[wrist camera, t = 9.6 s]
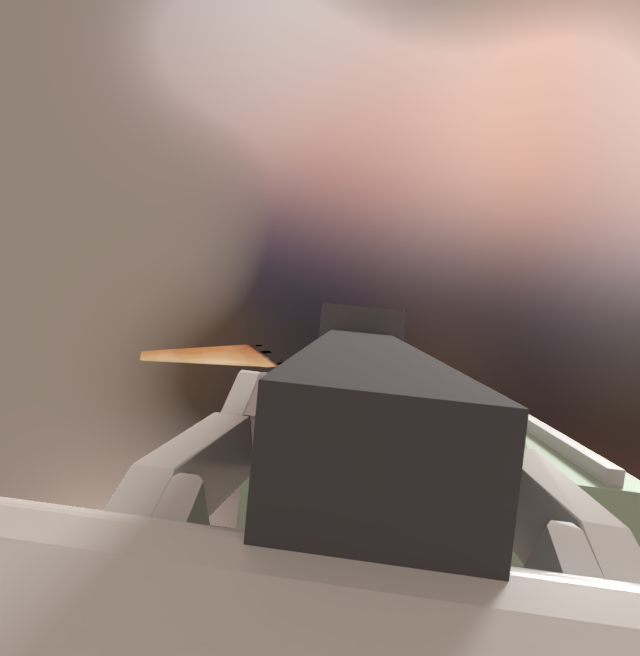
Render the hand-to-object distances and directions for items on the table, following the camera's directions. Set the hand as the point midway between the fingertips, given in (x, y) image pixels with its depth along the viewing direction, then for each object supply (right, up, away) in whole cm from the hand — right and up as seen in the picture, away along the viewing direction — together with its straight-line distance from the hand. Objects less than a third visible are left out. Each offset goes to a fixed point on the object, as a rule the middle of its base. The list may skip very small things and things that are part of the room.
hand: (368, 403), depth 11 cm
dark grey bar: (0, -2, +7) cm, 8 cm away
